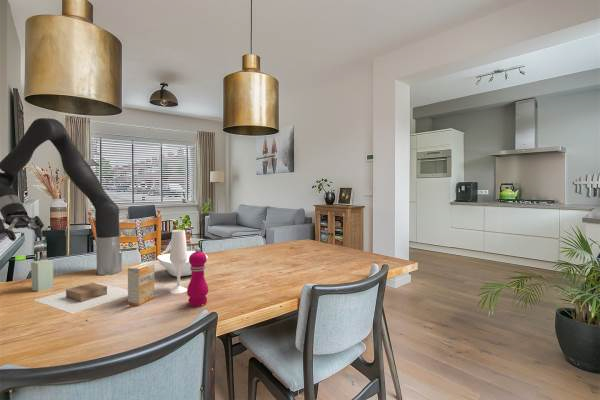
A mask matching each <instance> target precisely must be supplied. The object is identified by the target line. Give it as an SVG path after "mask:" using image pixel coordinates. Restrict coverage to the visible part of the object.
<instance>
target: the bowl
mask: <svg viewBox="0 0 600 400" xmlns="http://www.w3.org/2000/svg"><path fill="white" fill-rule="evenodd" d="M194 252H196V251H195V250H189V251H188V250H187V256H188V258H187V260H186V262H185V263H184V264H183V265H182V266H180V277H185V276H192V271H191V270H190V269H191V267H190V266H191V264H190V263H189V257H190V255H191V254H192V253H194ZM204 254H205V255H206V257H207V260H208V259H209V257H208V255H207V254H206V253H204ZM169 258H170V252H169V253H164V254H159V255H157V261H158V262H159V264H160V265H161V267H163V268H166V270H167V272H168V273H169V275H171V276H172V277H176V278H177V266H175V265H174V264H172V263H171V261H170V259H169Z"/></svg>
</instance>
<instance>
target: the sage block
mask: <svg viewBox="0 0 600 400" xmlns="http://www.w3.org/2000/svg"><path fill="white" fill-rule="evenodd" d="M30 267H31V270H30V273H31V290H32V291H34V292H38V293H40V292H43V291H47V290H51V289H54V260H52V259H46V258H45V259H42V260H41V259H40V260H35V261H31V262H30Z"/></svg>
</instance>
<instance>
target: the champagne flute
mask: <svg viewBox="0 0 600 400" xmlns="http://www.w3.org/2000/svg"><path fill="white" fill-rule="evenodd" d="M170 239H171V240H170V249H169V253H170V258H169V259H170V261H171V263H172V264H174V265H175V266H177V277H176V286H175V287H173V288H172V289H170V290H169V293H170V294H172V295H175V294H176V295H177V294H184V293H187V289H188V288H186V287H184V286H181V276H180V266H182V265H183V264H184V263H185V262H186V260H187V258H188V256H187V251H188V248H187V237H186V230H185V229H173V230H172V231H171V238H170Z"/></svg>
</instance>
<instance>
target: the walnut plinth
mask: <svg viewBox="0 0 600 400" xmlns="http://www.w3.org/2000/svg"><path fill="white" fill-rule="evenodd" d="M96 283H97V282H96ZM96 283H95V282H90V283H89V282H88V283H86V284H82V285H78V286H74V287H70V288H66V289H65V291H66V298H68V299H71V300H74V301H78V302H84V301H87V300H90V299H94V298H97V297H100V296H103V295H107V286H103V285H100V284H96Z"/></svg>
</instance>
